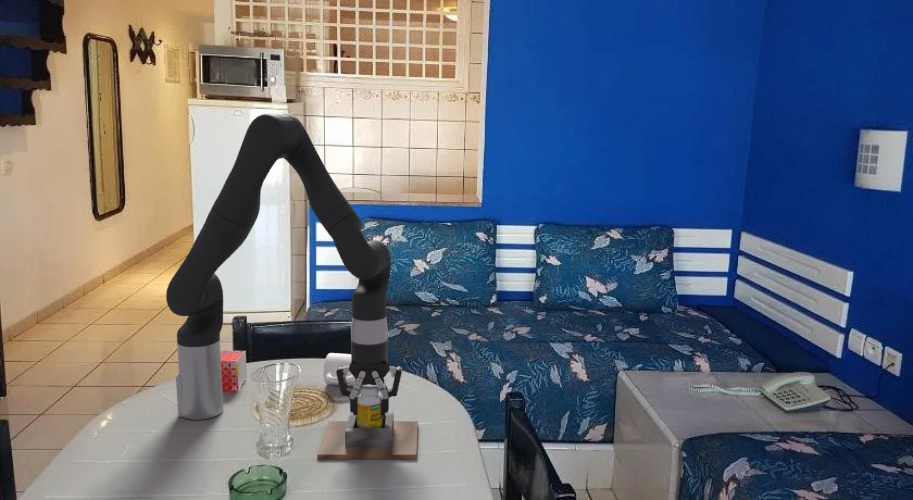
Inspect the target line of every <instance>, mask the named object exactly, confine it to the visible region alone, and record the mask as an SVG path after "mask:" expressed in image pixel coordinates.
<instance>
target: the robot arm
mask: <svg viewBox="0 0 913 500" xmlns="http://www.w3.org/2000/svg"><path fill="white" fill-rule="evenodd" d="M247 127H248V128H247V129H246V132H245V134H244V137H243V140H242V142H241V145H240V147H239V151H238V154H237V156H236V158H235V161H234V162H233V163H234V164H233V166H232V168H231V170H230V171H229V173H228V176H227V178H226V179H225V181H224V184H223V186H222V188H221V190H220V192H219V194H218V196H217V197H216V199H215V201H214V202H213V205H212V207H211V209H210V211H209V212H208V215H207V217H206V219H205V221H204V224H203V225H202V228H201V229H200V231H199V233H198V235H197V237H196V238H195V240H194V242H193V244H192V247H191V248H190V250H189V252H188V253H187V256H186V257H185V259H184V260H183V261H182V263H181V264H180V265H179V267H178V269H177V270H176V271H175V273H174V275H173V276H172V278H171V280H170V282H169V283H168V285H167V288H166V293H165V299H166V303H167V307H168V309H169V310H170V311H171V312H172V313H173V314H175V315H177V316H179V317H187V318H186V320H185V322H184V323H183V324H182V325H181V326H180V327H179V328H178V329H177V332H176V344H177V345H176V348H177V362H178V363H177V364H178V375H177V376H176V377H175V386H176V387H175V389H176V401H177V404H176V406H177V417H178V418H184V419H186V420H187V419H188V420H194V421H195V420H199V421H201V420H207V419H211V418H214V417H217V416H219V415H220V414H222V412H223V411H224V397H223V396H224V395H223V392H224V391H222V369H221V351H222V350H221V349H222V348H221V331H222V328H223V326H224V290H223V286H222V282H221V280H220V278H219V277H218V275H217V274H216V271H217V270H218V269H219V268H220V267H221V266H222V265H223V264H224V263H225V262H226V261H227V260H228V259H229V258H231V256H232V255H233V254H234V253H235V252H237V250H238V249H239V248H240V247H241V246H242V245H243V243H245V241H246V239H247V238H248V236H249V235H250V232H251V231H252V229H253V228H254V225H255V223H256V221H257V219H258V217H259V213H260V211H261V210H260V209H261V192H262V187H263V185H264V181H265V180H266V178H267V176H268V174H269V173H270V171H271V169H272V168H273V166H274V165H275V163H276V162H277V161H278V160H279V159H284V160H285V161H286V162H287V163H288V164H289V165H290V166H291V167H292V169H293V170H294V171H295V172H296V173H297V175H298V176H299V178H300V181H301V182H302V184H303V188H304V190H305V194H306V197H307V200H308V202H309V206H310V208H311V210H312V212H313V214H314V215H315V217H316V218H317V220H318V221H319V223H320V224H321V226H322V227H323V229H324V230H325V231H326V232H327V234H328V235H329V236H330V237H331V239H332V241H333V243H334V246H335V249H336V251H337V253H338V255H339V257H340V259H341V262H342V264H343V265H344V267H345V269H346V270H347V271H348V272H349V273H350V274H351V276H353V277H355V278H357V279H358V284H357V287H356V288H355V290H353V293H352V296H351V326H350V351H351V352H350V354H351V363H350V366H345V367H343V366H341V365H340V366H338V368H337V371H336V374H337V378H338V382H339V385H338V386H339V391H340V395H341V396H342V397H347V398H349V412H351V413H353V415H357V397H358V395H357V394H358V392H359V391H360V386H361V384H362V385H368V384H370V385H377V386H378V389H379V393H380V395H381V397H382V415H385V413H389V410H390V398H392V397H397V396H398V390H399V386H400V382H401V378H402V373H403V367H402V366H401V365H398V366H393V365H390V363H389V361H388V356H389V355H388V342H389V341H388V339H389V338H388V336H389V331H388V330H389V329H388V322H387V292H388V287H389V283H390V276H391V268H392V257H391V253H390V250H389V248H388V246H387V245H386V244H385V243H383V242H382V241H380V240H368V241H367V240H366V238H365V237H364V235H363V233H362V230H361V229H362V227H363V223H362V220H361V219H360V217H359V215H358V214H357V212H356V211H355V209H354V208H353V207H352V206H351V204H350V203H349V201H348V200H347V198H346V197H345V196H344V195H343V193H342V192H341V190H340V189H339V187H338V186H337V184H336V183H335V181H334V179H333V178H332V176H331V175H330V173H329V171H328V169H327V168H326V166H325V164H324V162H323V160H322V159H321V157H320V155H319V153H318V151H317V149H316V148H315V146H314V143H313V141H312V140H311V138H310V135H309V134H308V132H307V130H306V128H305V126H304V125H303V123H302V122H301V120H300V119H298V117H297V116H295V115H293V114H291V113H287V112H270V113H269V112H267V113H263V114H260V115H258V116H256V117H255V118H254V119H252V121H251V122H250V124H249V125H248V126H247ZM349 371H350V372H351V374H352V375H353V376H354V378H355V379H356V381H355V383H354V386H352V387H351V388H349V387H348V386H347V382H346V377H347V374H348V372H349ZM389 372H390V373H391V377H392V378H393V383H392V387H391V388H388V386H387V382H386V380H385V377H386V376H387V375H388V374H389Z"/></svg>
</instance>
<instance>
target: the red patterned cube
mask: <svg viewBox="0 0 913 500" xmlns="http://www.w3.org/2000/svg"><path fill="white" fill-rule="evenodd" d="M246 351H247V350H221V369H222V391H223V392H239V391H240V390H241V389H240V387H241V385H242V384H243V382H244V380H245V379H247V378H248V377H247V375H248V374H247V353H246ZM243 385H244V384H243ZM241 388H242V387H241ZM239 389H240V390H239Z"/></svg>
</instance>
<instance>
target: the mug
mask: <svg viewBox="0 0 913 500" xmlns="http://www.w3.org/2000/svg"><path fill="white" fill-rule="evenodd" d="M350 363H351V353H350V354H349V353H340V352H339V353H337V352H336V353H335V352H329V353H328V354H327V355H326V357H325V360H324V364H323V380H324V383H325V384H326V385H332V386H333V385H335V386H339V382H338V378H337V374H336V371H337V368H338V366H340V365H341V366H343V367H345V366H350ZM355 381H356V379H355V378H354V376H353V375H352V374H351V372H350V371H349V372H348V374H347V377H346V382H347V386H349V387H353V386H354V383H355ZM361 385H362V384H361Z"/></svg>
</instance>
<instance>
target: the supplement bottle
mask: <svg viewBox="0 0 913 500" xmlns="http://www.w3.org/2000/svg"><path fill="white" fill-rule="evenodd" d="M359 393H360V394H358V395H357V428H382V394H381V393H380V390H379V389H378V386H377V385H370V384H368V385H361V386H360V388H359Z"/></svg>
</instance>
